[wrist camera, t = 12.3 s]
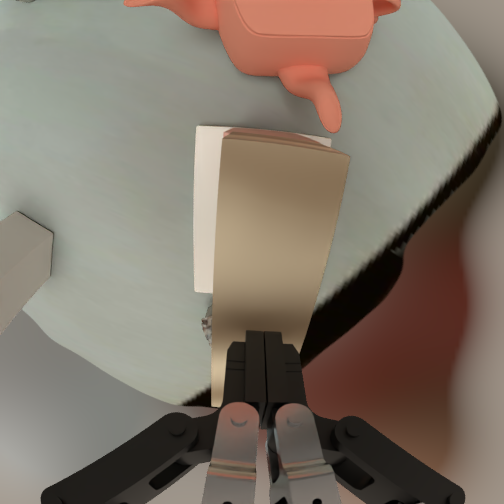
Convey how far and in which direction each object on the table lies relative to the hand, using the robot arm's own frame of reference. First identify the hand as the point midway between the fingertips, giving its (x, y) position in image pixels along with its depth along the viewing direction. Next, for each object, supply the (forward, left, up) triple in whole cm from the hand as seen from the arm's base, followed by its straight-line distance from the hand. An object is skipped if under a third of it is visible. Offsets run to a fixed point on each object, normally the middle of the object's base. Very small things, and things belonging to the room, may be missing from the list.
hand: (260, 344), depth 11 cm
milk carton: (+5, -28, -16) cm, 33 cm away
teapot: (-18, -1, -16) cm, 24 cm away
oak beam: (0, 0, -6) cm, 6 cm away
